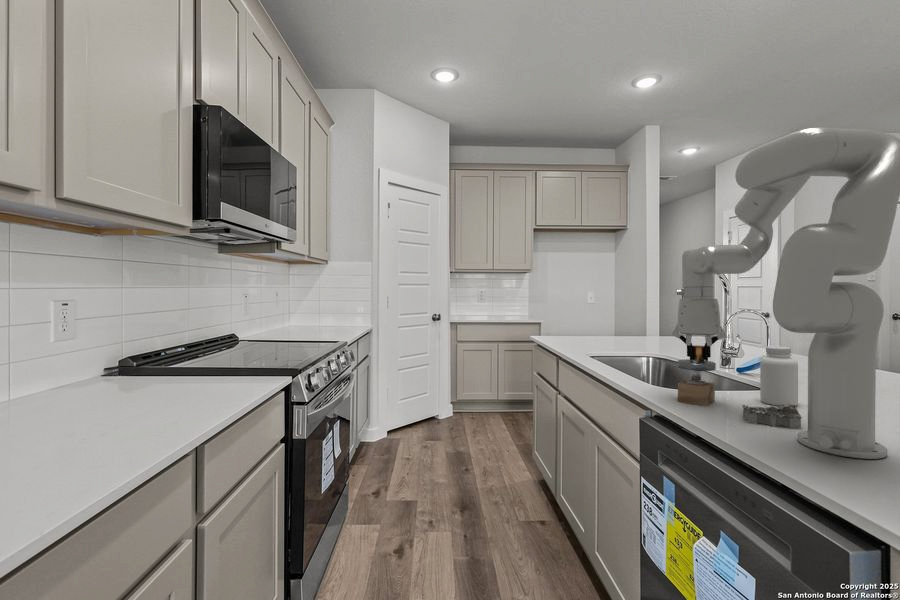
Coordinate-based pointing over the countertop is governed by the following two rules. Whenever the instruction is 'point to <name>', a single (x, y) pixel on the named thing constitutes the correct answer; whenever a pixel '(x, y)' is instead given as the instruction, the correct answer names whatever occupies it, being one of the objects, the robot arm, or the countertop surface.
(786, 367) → the pill bottle
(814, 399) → the robot arm
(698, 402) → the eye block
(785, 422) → the egg carton
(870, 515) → the countertop surface
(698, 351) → the grey knobbed disc
